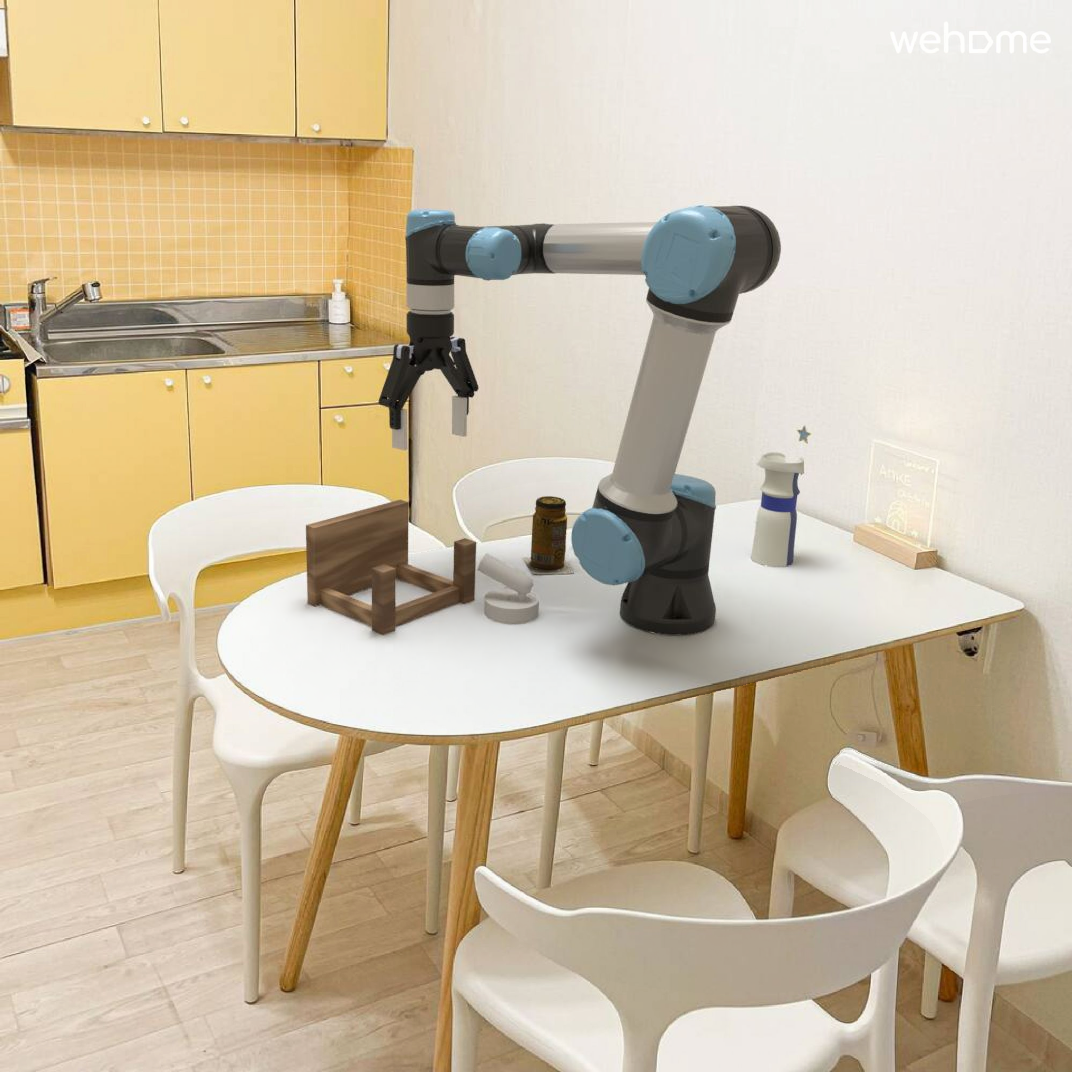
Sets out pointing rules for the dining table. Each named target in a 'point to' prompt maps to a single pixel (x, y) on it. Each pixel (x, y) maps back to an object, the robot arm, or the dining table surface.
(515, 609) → the wall hook
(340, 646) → the dining table surface
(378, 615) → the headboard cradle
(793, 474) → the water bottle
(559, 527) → the condiment
